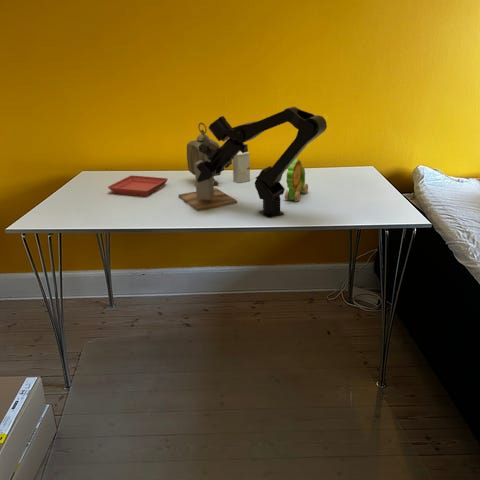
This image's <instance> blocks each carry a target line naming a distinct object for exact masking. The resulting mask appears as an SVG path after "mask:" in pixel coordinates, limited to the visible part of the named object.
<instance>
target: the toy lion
mask: <svg viewBox="0 0 480 480" xmlns="http://www.w3.org/2000/svg"><path fill="white" fill-rule="evenodd" d="M286 171H287V172H286V185H287V188H288V190H285V191H284V200H285V201H290V200H294V201H295V202H299V201H300V200H301V192H302V194H307V193H308V191H309V184H308V183H306V171H305V167H304V166H303V164H302V161H301V159H298V158H296V159H295V160H294V161H293V162H292V163H291V165H290V166H289V167H288V168H287V170H286Z"/></svg>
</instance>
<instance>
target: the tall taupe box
mask: <svg viewBox="0 0 480 480" xmlns="http://www.w3.org/2000/svg"><path fill="white" fill-rule="evenodd" d="M201 162H202V161H198V162H197V163H195V175H194V178H195V179H194V180H195V190H196V191H195V192H196V194H197V199H208V200H210V199H211V198H212V197H213V196H214V188H215V184H214V181H213V177H212V178H211V179H209V180H208V179H207V180H204V181H202V182H198V181H197V179H198V177H199V175H200V173H201V172H200V171H199V170H198V169H197V165H198V164H199V163H201ZM208 162H210V161H208Z"/></svg>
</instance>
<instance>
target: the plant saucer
mask: <svg viewBox="0 0 480 480" xmlns="http://www.w3.org/2000/svg"><path fill="white" fill-rule="evenodd" d="M167 182H168V177H167V178H166V177H155V176H145V175H143V176H142V175H134V174H133V175H132V174H131V175H128V176H127V177H125V178H122V179H120V180H119V181H116V182H114V183H112V184H111V185H108V186H107V189H109V190H110V191H111V192H113V193H114V194H119V195H128V194H129V195H131V196H138V195H139V196H140V197H147V196H149V195H150V194H152V193H154V192H155V191H157V190H159V189H161V188H162V187H164V185H166V183H167ZM129 195H128V196H129ZM139 196H138V197H139Z"/></svg>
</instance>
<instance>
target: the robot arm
mask: <svg viewBox="0 0 480 480" xmlns="http://www.w3.org/2000/svg"><path fill="white" fill-rule="evenodd" d="M285 123H289V124H291V125H292V126H293V127H294V128H295V129H297V130H298V131H297V133H296V136H295V139H294V140H293V141H292V142H291V143H290V144H289V145H288V147H287V148H286V149H285V151H284V152H283V153H282V154H281V156H280V157H279V158H278V159H277V161H276V162H275V163H274V164H273V165H272V166H271V165H269V166H267V167H266V168H263V169H261V171H260V172H259V174H258V175H257V176H255V181H254V187H255V190H256V192H257V194H258V198H259V200H262V209H261V210H259V211H258V213H259V214H261V215H263V216H264V217H267V218H268V219H269V218H273V217H278V216H283V215H285V213H284V212H283V211H281V196H282V195H284V194H285V191H286V189H285V187H284V186H283V185H282V184H281V181H282V177H283V174H284V173H285V172H286V171H287V170H288V167H289V166H290V165H291V163H292V162H293V161H294V160H295V159H297V157H299V155H300V154H301V153H302V152H303V150H304V149H305V148H307V146H308V145H309V144H310V143H311V142H313V141H315V139H317V138H318V137H320V135H322V134H323V133H324V132H325V131H326V129H327V127H328V126H327V125H328V124H327V121H326V119H325V117H323V116H322V115H319V114H318V115H316V114H313V113H311V112H308V111H305V110H302V109H300V108H298V107H296V106H291V107H287V108H285V109H284V110H282V111H279V112H277V113H275V114H272V115H270V116H267V117H265V118H263V119H261V120H257V121H251V122H250V121H249V122H245V123H243V124H240V125H236V126H233V127H232V126H231V124H230V123H229V122H228V121H227V119H226V118H225V116H224V115H222V116H219V117H218V118H217V119H216V120H214V121H213V122H212V123H210V124H209V125H208V130H209V132H211V133H212V135H213V136H214V137H215V139H216V140H217V141H218V142H221V141H222V143H223V144H222V145H221V146H220V148H219V147H217V146H216V145H214V144H212V143H211V142H209V141H204V142H202V143H201V145H200V146H199V152H201V153H203V154H206V155H207V156H209V157H208V159H209V160H210V162H208V161H202V162H201V163H199V164H198V165H197V169H198V170H199V171H200V172H201V173H200V175H199V177H198V179H197V181H198V182H202V181H204V180H207V179H208V180H209V179H211V178H212V177H214V178H215V177H216V176H215V174H217V173H219V172H221V173H222V172H223V171H225V169H228V168H229V167H231V165H233V159H234V157H235V155H236V154H237V153H238V152H242V153H245V152H249V147H248V146H249V145H248V144H245V143H246V142H248V141H251V140H254V139H255V138H256V137H258V136H260V135H261V134H262V133H264V132H265V131H268V130H270V129H273V128H275V127H277V126H280V125H283V124H285Z"/></svg>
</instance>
